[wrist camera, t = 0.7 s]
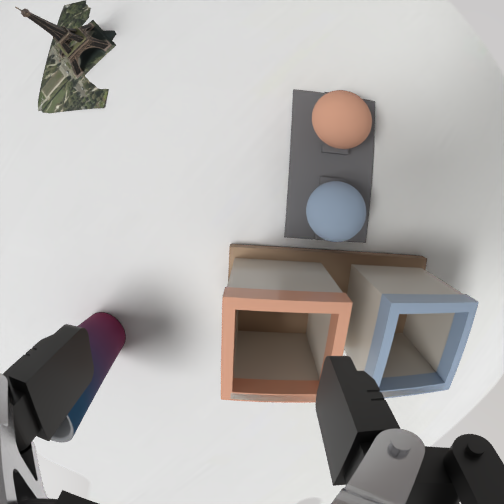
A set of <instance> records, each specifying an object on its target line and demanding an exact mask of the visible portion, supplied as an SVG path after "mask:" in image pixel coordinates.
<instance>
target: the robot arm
mask: <svg viewBox="0 0 504 504" xmlns="http://www.w3.org/2000/svg"><path fill="white" fill-rule="evenodd" d="M93 373H94V365H93V360H92V354H91V348H90V342H89V335H88V332H87V330H86V329H85V328H82V327H77V326H72V325H68V324H66V325H64V326H63V327H61V328H60V329H59V330H58V331H57V332H56V333H55V334H53V335H51V336H49V337H46V338H44V339H42V340H40V341H39V342H38V343H37V344H36V345H35V346H33V347H32V349H30V350H29V351H28V352H27V353H26V355H23V356H22V357H21V358H20V359H19V360H18V361H16V362H15V363H14V364H13V365H12V366H11V367H10V368H9V369H8V370H7V371H5V372H4V373H3V374H1V373H0V504H98V503H95V502H92V501H90V500H87V499H84V498H81V497H79V496H76V495H73V494H71V493H68V492H66V491H62V492H61V494H60V496H59V498H58V499H48V497H47V495H46V493H45V490H44V487H43V482H42V478H41V473H40V469H39V464H38V459H37V453H36V447H35V444H34V442H33V439H34V438H35V437H36V436H38V437H40V438H42V439H45V440H47V441H50V439H51V438H52V436H53V435H54V433H55V432H56V430H57V429H58V428H59V426H60V425H61V423H62V422H63V420H64V419H65V417H66V416H67V415H68V413H69V412H70V410H71V409H72V408H73V406H74V405H75V403H76V402H77V401H78V399H79V398H80V396H81V395H82V394H83V392H84V391H85V389H86V388H87V387H88V385H89V384H90V382H91V381H92V378H93ZM316 412H317V417H318V421H319V425H320V429H321V434H322V438H323V442H324V447H325V451H326V456H327V460H328V465H329V469H330V474H331V478H332V483H333V486H334V485H345V484H346V486H345V488H343V489H342V490H341V491H340V492H339V494H338V495H337V496H336V498H335V499H334V501H333V502H332V503H331V504H459V502H461V504H504V464H503V462H502V461H501V459H500V458H499V456H498V454H497V453H496V451H495V449H494V448H493V446H492V445H491V444H490V443H489V442H488V441H487V440H486V439H485V438H483V437H481V436H478V435H474V434H465V435H461V436H460V437H458V438H457V439H456V440H455V441H454V443H453V444H452V446H451V447H450V448H440V447H427V446H424V443H423V442H422V440H421V439H420V438H419V437H418V436H417V435H415V434H414V433H412V432H410V431H407V430H404V429H400V427H399V425H398V423H397V421H396V419H395V417H394V415H393V413H392V411H391V410H390V408H389V406H388V404H387V402H386V400H384V396H383V394H382V392H380V389H379V387H378V385H377V383H376V381H375V379H373V378H372V377H371V376H370V375H369V374H367V373H366V372H365V371H357V369H356V367H355V365H354V363H353V361H352V359H351V357H350V356H327V357H326V358H325V361H324V364H323V369H322V373H321V377H320V381H319V386H318V390H317V394H316Z"/></svg>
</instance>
